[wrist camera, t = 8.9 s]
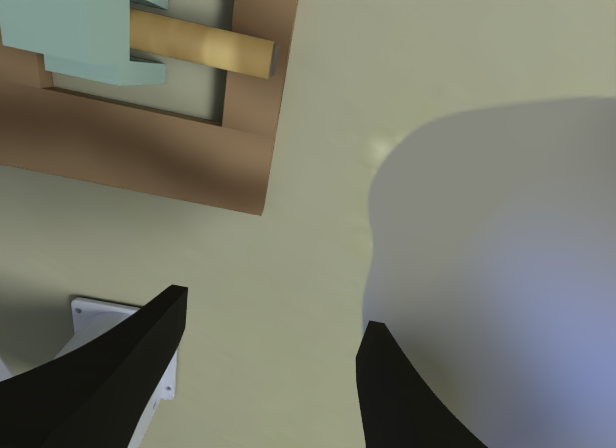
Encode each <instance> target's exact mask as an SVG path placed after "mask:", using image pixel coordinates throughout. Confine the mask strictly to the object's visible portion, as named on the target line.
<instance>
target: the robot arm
mask: <svg viewBox="0 0 616 448" xmlns="http://www.w3.org/2000/svg"><path fill="white" fill-rule="evenodd" d="M187 295H188V287H183V286H177V285H171V286H169V287H168V288H166V289H165V290H164V291H163V292H161V293H160V294H159V295H158V296H156V297H155V298H154V299H152V300H151V301H150V302H148V303H147V304H146V305H145V306H143V307H142V308H137V307H131V306H125V305H120V304H114V303H108V302H103V301H97V300H91V299H86V298H80V297H77V298H75V299H74V300H73V301H72V302H71V307H72V316H73V325H74V333H75V335H74V336H73V337H72V338H71V339H70V340H69V342H68V343H67V344H66V345H65V346H64V347H63V348H62V350H61V351H60V352H59V353H58V354H57V355H56V356H55V357H54V359H53V360H52V361H50V362H48V363H46V364H44V365H41V366H39V367H37V368H34V369H32V370H30V371H27V372H25V373H22V374H20V375H17V376H14V377H12V378H9V379H7V380H4V381H1V382H0V448H138V447H139V445H140V443H141V441H142V438H143V436H144V434H145V432H146V430H147V428H148V425H149V423H150V421H151V419H152V417H153V415H154V412H155V410H156V408H157V406H158V404H159V402H160V399H166V400H170V399H173V397H174V395H175V385H176V367H177V350H178V345H179V343H180V340H181V337H182V335H183V332H184V330H185V324H186V310H187ZM80 309H81V310H80ZM356 383H357V390H358V397H359V404H360V410H361V416H362V423H363V429H364V436H365V443H366V448H488V447H487V446H485V445H484V444H483V443H482V442H481V441H480V440H479V439H478V438H477V437H475V436H474V435H473V434H472V433H471V432H470V431H469V430H468V429H467V428H466V427H465V426H464V425H463V424H462V423H461V422H460V421H459V420H458V419H457V418H456V417H455V416H454V415H453V414H452V413H451V412H450V411H449V410H448V409H447V407H446V406H445V405H444V404H443V403H442V402H441V401H440V400H439V398H437V396H436V395H435V394H434V393H433V391H432V390H431V389H430V388H429V387H428V385H427V384H426V383H425V382H424V380H423V379H422V378H421V377H420V375H419V374H418V372H417V371H416V370H415V368H414V367H413V366H412V364H411V363H410V361H409V360H408V358H407V357H406V356H405V354H404V353H403V351H402V350H401V348H400V347H399V345H398V344H397V342H396V341H395V339H394V338H393V336H392V335H391V333H390V331H389V330H388V328H387V327H386V325H385V324H384V323H380V322H375V321H369V323H368V326H367V328H366V331H365V334H364V336H363V339H362V342H361V345H360V347H359V350H358V353H357V356H356Z"/></svg>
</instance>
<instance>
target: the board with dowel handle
mask: <svg viewBox="0 0 616 448" xmlns="http://www.w3.org/2000/svg"><path fill="white" fill-rule="evenodd" d="M297 4H298V0H234V7H233V17H232V28H231V31H227V30H223V29H218V28H214V27H210V26H205V25H201V24H197V23H192V22H188V21H184V20H179V19H175V18H171V17H167V16H162V15H158V14H154V13H149V12H145V11H141V10H136V9H132V8H130V48H131V49H136V50H140V51H144V52H149V53H153V54H158V55H162V56H167V57H171V58H176V59H180V60H184V61H189V62H193V63H198V64H202V65H207V66H211V67H216V68H220V69H224V70H227V79H226V90H225V100H224V110H223V121H222V123H219V122H214V121H210V120H205V119H200V118H196V117H191V116H186V115H182V114H177V113H172V112H168V111H163V110H158V109H154V108H149V107H144V106H140V105H135V104H130V103H126V102H121V101H116V100H112V99H107V98H102V97H98V96H93V95H89V94H84V93H79V92H75V91H70V90H65V89H61V88H56V87H53V81H52V72H51V71H47V70H45V63H44V54H41V53H37V52H32V51H28V50H23V49H18V48H14V47H9V46H5V45H3V43H2V35H1V27H0V164H2V165H7V166H12V167H17V168H22V169H28V170H33V171H38V172H43V173H48V174H53V175H58V176H63V177H68V178H73V179H78V180H83V181H88V182H93V183H98V184H103V185H108V186H113V187H118V188H123V189H128V190H133V191H138V192H143V193H148V194H153V195H158V196H163V197H169V198H174V199H179V200H184V201H189V202H194V203H199V204H204V205H209V206H214V207H219V208H224V209H229V210H234V211H239V212H244V213H249V214H254V215H259V216H261V215H262V212H263V210H264V204H265V198H266V192H267V186H268V179H269V173H270V167H271V161H272V155H273V149H274V143H275V137H276V131H277V125H278V119H279V113H280V107H281V101H282V95H283V89H284V83H285V76H286V70H287V64H288V58H289V52H290V46H291V40H292V34H293V28H294V22H295V16H296V10H297Z"/></svg>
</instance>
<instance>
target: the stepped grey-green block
mask: <svg viewBox="0 0 616 448" xmlns="http://www.w3.org/2000/svg"><path fill="white" fill-rule="evenodd" d="M130 1H131V2H135V3H140V4H144V5H148V6H153V7H157V8H162V9H166V10H168V0H0V27H1V35H2V43H3V45H5V46H9V47H14V48H18V49H23V50H28V51H32V52H37V53H41V54H44V63H45V70H47V71H51V72H56V73H61V74H65V75H70V76H75V77H79V78H84V79H89V80H93V81H98V82H103V83H107V84H112V85H117V86H123V85H145V84H165V67H166V64H162V63H158V62H153V61H149V60H144V59H140V58H135V57H131V56H130Z"/></svg>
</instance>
